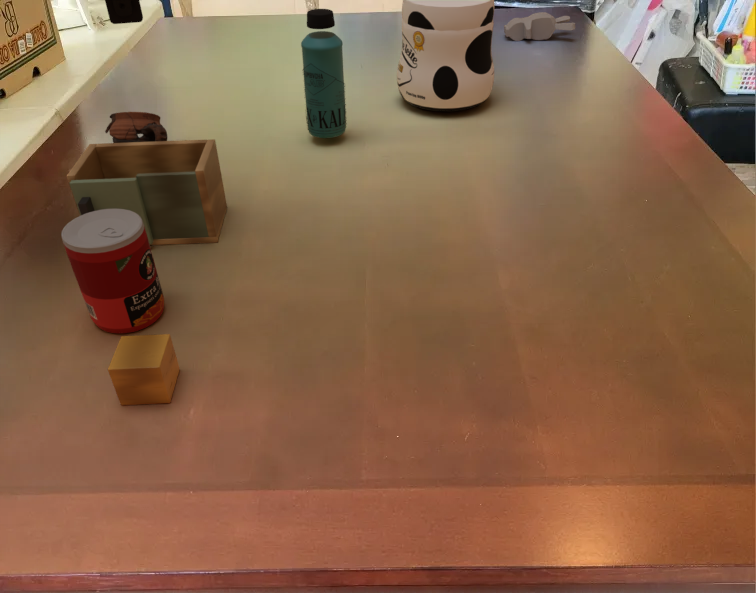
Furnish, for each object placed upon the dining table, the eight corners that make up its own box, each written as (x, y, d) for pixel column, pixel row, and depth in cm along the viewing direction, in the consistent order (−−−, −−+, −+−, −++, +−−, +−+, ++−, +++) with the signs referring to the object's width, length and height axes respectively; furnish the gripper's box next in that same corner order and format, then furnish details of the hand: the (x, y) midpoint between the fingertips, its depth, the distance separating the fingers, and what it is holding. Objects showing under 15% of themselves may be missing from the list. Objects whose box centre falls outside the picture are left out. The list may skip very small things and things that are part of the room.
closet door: (86, 254, 80) (64, 189, 75) (92, 243, 82) (71, 179, 77) (149, 251, 80) (131, 187, 75) (153, 241, 82) (136, 177, 77)
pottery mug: (94, 167, 102) (91, 113, 101) (144, 171, 110) (141, 121, 109) (146, 163, 96) (143, 105, 95) (195, 167, 104) (192, 114, 103)
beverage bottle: (314, 130, 111) (303, 3, 99) (352, 132, 110) (346, 5, 98) (302, 146, 106) (290, 15, 94) (342, 149, 105) (335, 16, 92)
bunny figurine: (502, 14, 152) (568, 5, 150) (502, 37, 155) (567, 28, 153) (507, 25, 144) (577, 16, 143) (508, 49, 147) (576, 40, 146)
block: (120, 405, 61) (107, 369, 58) (133, 371, 65) (121, 335, 62) (170, 403, 61) (159, 367, 58) (180, 369, 65) (170, 333, 62)
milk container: (377, 100, 121) (375, -4, 110) (443, 78, 130) (447, -21, 119) (444, 128, 110) (449, 15, 100) (511, 101, 119) (522, -5, 108)
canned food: (147, 339, 68) (120, 250, 62) (77, 331, 70) (43, 244, 63) (178, 295, 74) (156, 210, 68) (113, 289, 76) (85, 205, 69)
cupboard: (90, 247, 83) (65, 175, 77) (110, 212, 90) (89, 143, 84) (217, 242, 83) (203, 170, 77) (227, 207, 90) (215, 139, 84)
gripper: (57, -187, 67) (103, -6, 77) (23, -184, 53) (84, 35, 63) (134, -188, 68) (169, -10, 78) (119, -186, 54) (163, 29, 65)
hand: (131, 10), depth 71 cm, fingers open, 9 cm apart
